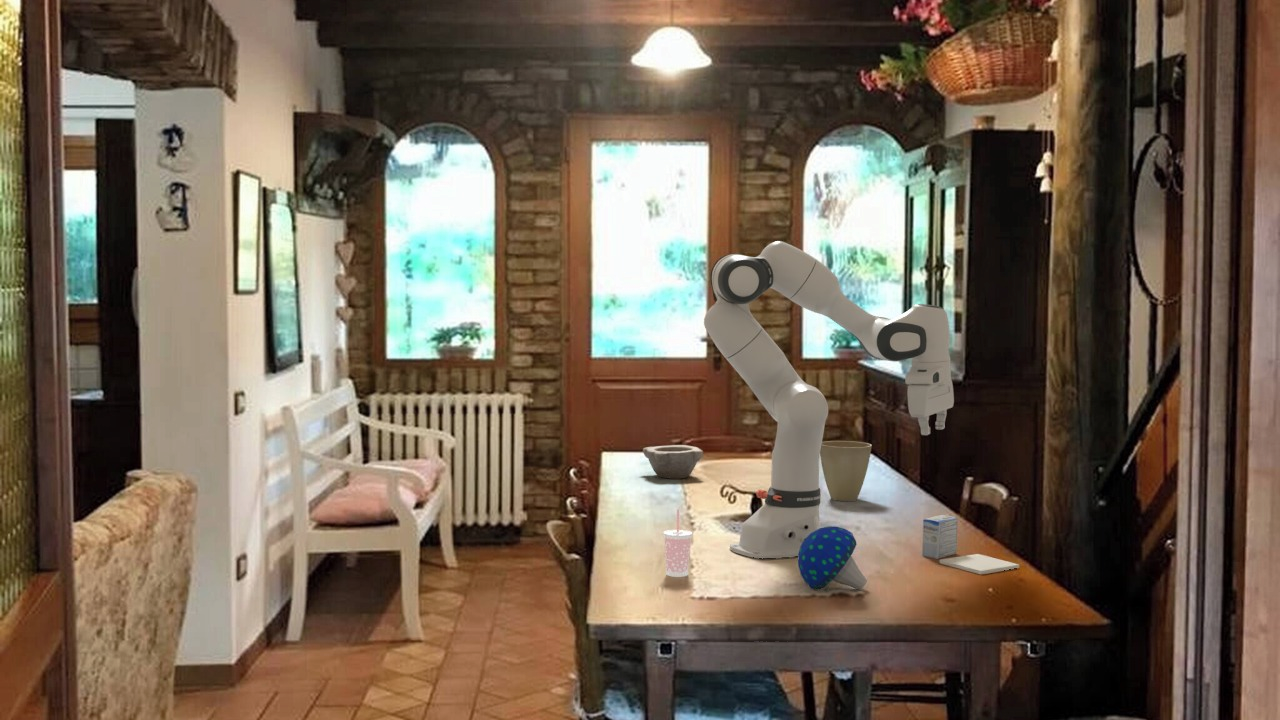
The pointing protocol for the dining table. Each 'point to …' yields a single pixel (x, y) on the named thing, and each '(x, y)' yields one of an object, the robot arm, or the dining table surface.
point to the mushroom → (829, 559)
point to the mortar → (673, 460)
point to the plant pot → (844, 468)
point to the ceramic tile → (979, 564)
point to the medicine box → (939, 536)
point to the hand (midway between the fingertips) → (933, 431)
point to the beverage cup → (677, 551)
